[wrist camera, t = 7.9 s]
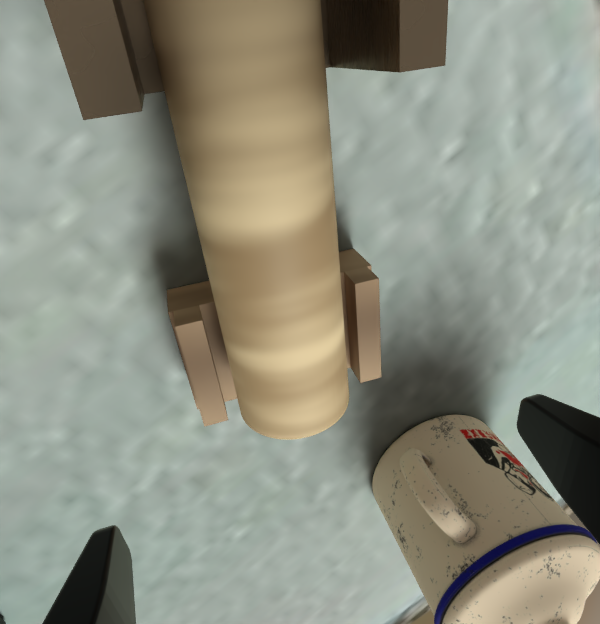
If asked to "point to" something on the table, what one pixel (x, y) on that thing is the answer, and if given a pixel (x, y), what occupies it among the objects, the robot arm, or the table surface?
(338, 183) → the table surface
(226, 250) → the rod
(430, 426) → the teacup with lid
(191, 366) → the block
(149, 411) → the table surface
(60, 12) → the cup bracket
